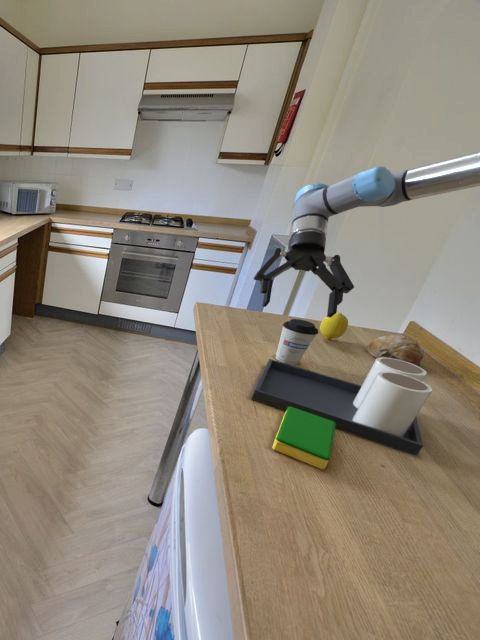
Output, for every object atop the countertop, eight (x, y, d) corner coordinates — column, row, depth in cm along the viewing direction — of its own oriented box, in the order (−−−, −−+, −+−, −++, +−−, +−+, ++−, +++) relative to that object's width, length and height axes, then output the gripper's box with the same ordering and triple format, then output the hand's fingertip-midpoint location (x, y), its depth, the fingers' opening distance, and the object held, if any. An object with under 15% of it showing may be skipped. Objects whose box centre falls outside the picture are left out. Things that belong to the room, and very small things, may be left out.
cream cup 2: (401, 427, 76) (430, 381, 71) (404, 445, 71) (435, 396, 67) (352, 412, 80) (376, 367, 76) (352, 427, 75) (378, 380, 71)
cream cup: (398, 409, 81) (425, 365, 77) (400, 425, 76) (429, 379, 72) (352, 396, 85) (375, 353, 81) (352, 409, 81) (376, 365, 76)
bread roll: (359, 366, 107) (371, 345, 102) (367, 341, 112) (380, 320, 106) (411, 381, 101) (427, 359, 96) (417, 353, 106) (434, 332, 100)
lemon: (322, 342, 112) (335, 315, 108) (310, 334, 117) (322, 308, 113) (345, 344, 111) (358, 317, 108) (332, 336, 116) (344, 310, 113)
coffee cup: (270, 351, 105) (285, 315, 101) (303, 359, 102) (320, 322, 97) (269, 360, 100) (284, 323, 96) (304, 369, 96) (322, 331, 92)
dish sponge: (271, 449, 69) (276, 437, 68) (284, 415, 79) (288, 405, 78) (323, 470, 65) (330, 458, 64) (330, 432, 74) (336, 421, 73)
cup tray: (407, 409, 83) (412, 400, 82) (416, 456, 69) (423, 446, 68) (266, 366, 97) (269, 358, 96) (251, 399, 84) (255, 389, 83)
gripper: (358, 253, 106) (352, 326, 100) (247, 240, 115) (235, 306, 109) (376, 235, 99) (370, 312, 93) (257, 223, 108) (245, 293, 103)
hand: (298, 309), depth 101 cm, fingers open, 13 cm apart
